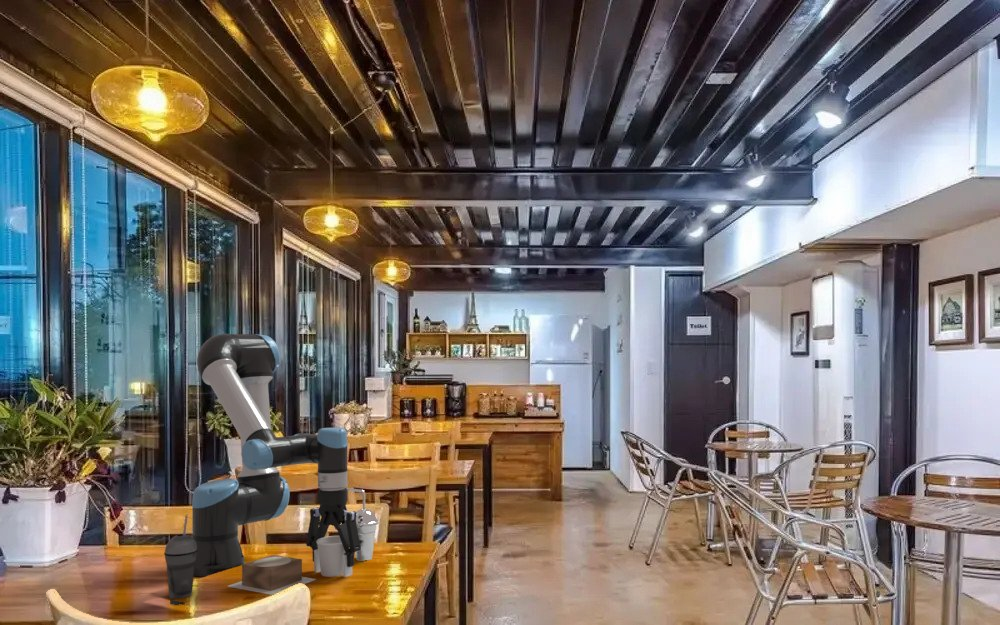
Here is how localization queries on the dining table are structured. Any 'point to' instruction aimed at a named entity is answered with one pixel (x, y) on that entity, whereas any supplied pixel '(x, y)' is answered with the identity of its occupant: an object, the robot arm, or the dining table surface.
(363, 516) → the cup with straw
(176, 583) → the beverage cup
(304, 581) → the board
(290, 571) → the brown block
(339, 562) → the dixie cup
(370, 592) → the dining table surface
